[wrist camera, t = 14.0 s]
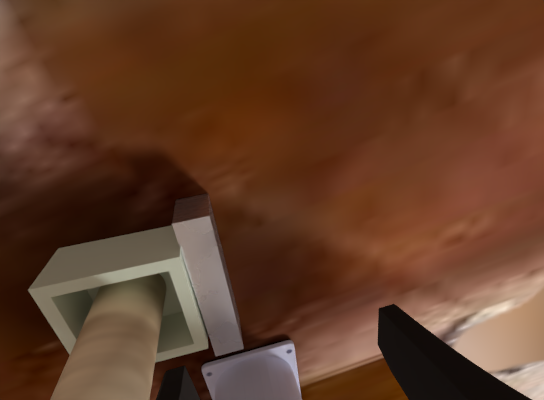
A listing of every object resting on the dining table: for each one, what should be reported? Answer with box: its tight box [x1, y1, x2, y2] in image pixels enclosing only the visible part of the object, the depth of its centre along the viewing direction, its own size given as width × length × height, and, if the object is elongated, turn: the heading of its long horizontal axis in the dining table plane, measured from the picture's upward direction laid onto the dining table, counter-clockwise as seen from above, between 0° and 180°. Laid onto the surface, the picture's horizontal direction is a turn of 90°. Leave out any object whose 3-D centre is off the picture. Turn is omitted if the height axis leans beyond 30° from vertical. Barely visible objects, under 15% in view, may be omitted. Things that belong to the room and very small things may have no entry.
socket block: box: [28, 225, 208, 362], centre depth 19 cm, size 8×8×4 cm
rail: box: [172, 193, 244, 357], centre depth 20 cm, size 11×2×3 cm, turn 8°
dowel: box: [50, 273, 166, 400], centre depth 16 cm, size 4×4×8 cm
